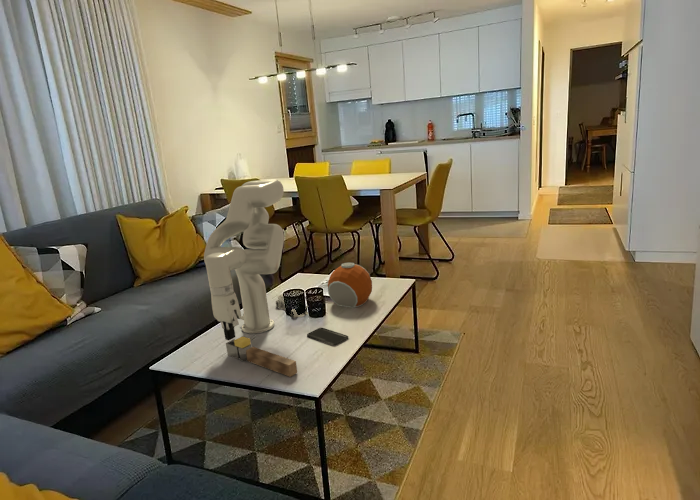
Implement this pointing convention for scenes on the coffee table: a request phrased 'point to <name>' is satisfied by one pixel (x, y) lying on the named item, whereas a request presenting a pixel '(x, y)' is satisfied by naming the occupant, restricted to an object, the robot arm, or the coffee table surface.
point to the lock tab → (242, 342)
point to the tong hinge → (237, 351)
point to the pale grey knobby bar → (281, 305)
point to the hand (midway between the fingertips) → (230, 338)
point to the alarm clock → (349, 285)
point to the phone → (327, 336)
